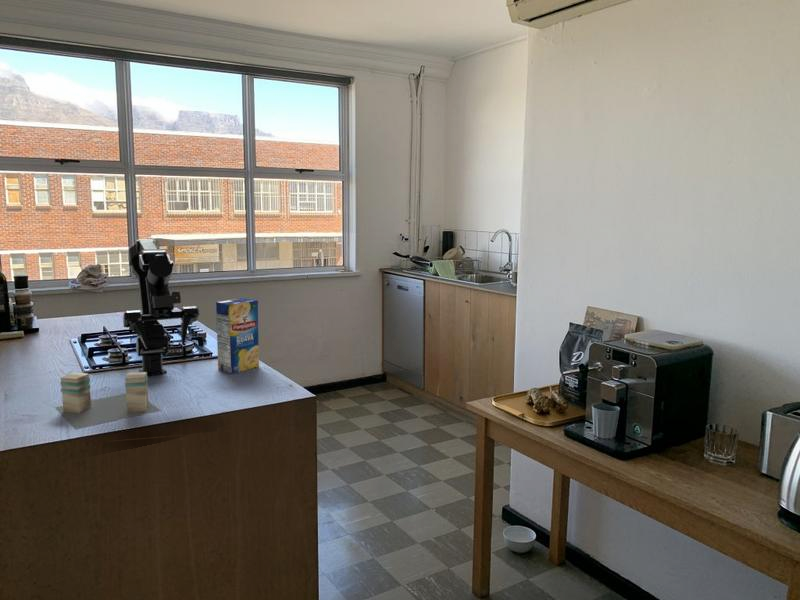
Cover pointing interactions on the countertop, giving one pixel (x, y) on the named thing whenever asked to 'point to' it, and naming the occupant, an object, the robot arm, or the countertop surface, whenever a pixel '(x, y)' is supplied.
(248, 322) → the beverage box
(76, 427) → the mat
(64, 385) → the beige striped block
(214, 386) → the countertop surface
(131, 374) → the post
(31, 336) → the countertop surface
